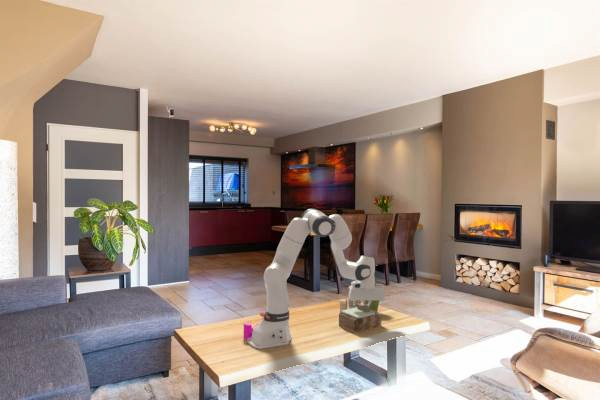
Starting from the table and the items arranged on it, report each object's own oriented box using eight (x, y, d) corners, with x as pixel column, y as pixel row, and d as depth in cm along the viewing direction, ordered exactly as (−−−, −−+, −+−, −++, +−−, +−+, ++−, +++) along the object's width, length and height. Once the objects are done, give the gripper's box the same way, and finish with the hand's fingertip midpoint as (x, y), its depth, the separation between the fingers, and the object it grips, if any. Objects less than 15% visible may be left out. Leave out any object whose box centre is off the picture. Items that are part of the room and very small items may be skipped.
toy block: (263, 329, 203) (263, 316, 203) (270, 332, 198) (270, 318, 198) (240, 337, 192) (240, 322, 192) (248, 340, 188) (248, 325, 188)
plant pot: (378, 309, 239) (379, 291, 239) (382, 315, 227) (383, 297, 227) (360, 308, 239) (360, 291, 239) (363, 315, 227) (363, 296, 227)
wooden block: (344, 321, 215) (345, 301, 215) (339, 320, 217) (339, 300, 217) (347, 320, 218) (347, 299, 218) (342, 319, 220) (342, 299, 220)
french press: (354, 305, 247) (354, 268, 247) (367, 310, 237) (367, 270, 237) (343, 308, 241) (343, 269, 241) (356, 312, 232) (356, 272, 231)
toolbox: (354, 333, 198) (355, 319, 197) (338, 326, 208) (338, 313, 208) (381, 325, 209) (381, 313, 209) (364, 319, 220) (364, 307, 220)
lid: (357, 318, 198) (357, 312, 198) (341, 312, 209) (341, 306, 209) (374, 314, 206) (375, 308, 206) (358, 308, 217) (358, 302, 217)
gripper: (383, 282, 215) (383, 306, 215) (348, 282, 215) (348, 306, 215) (386, 285, 208) (386, 309, 209) (350, 284, 208) (349, 309, 208)
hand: (366, 308), depth 212 cm, fingers closed
